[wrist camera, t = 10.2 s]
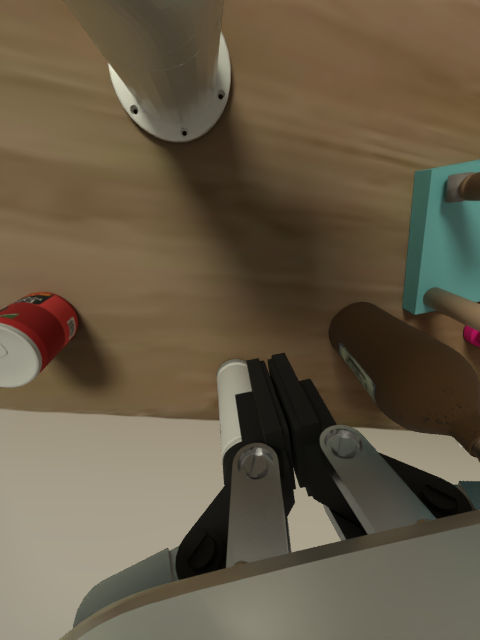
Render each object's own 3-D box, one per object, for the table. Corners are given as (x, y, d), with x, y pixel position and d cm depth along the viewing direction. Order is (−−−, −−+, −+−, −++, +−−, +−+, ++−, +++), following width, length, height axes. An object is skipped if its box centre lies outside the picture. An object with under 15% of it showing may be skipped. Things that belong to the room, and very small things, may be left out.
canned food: (50, 279, 37) (-7, 310, 27) (92, 324, 40) (55, 367, 30) (7, 308, 38) (-64, 348, 28) (52, 350, 41) (3, 399, 31)
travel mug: (261, 368, 47) (297, 477, 29) (237, 394, 49) (257, 512, 30) (233, 350, 45) (252, 455, 27) (209, 377, 46) (211, 494, 28)
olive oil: (367, 284, 43) (550, 385, 20) (396, 328, 47) (576, 453, 24) (312, 327, 45) (422, 462, 22) (345, 366, 49) (466, 513, 26)
